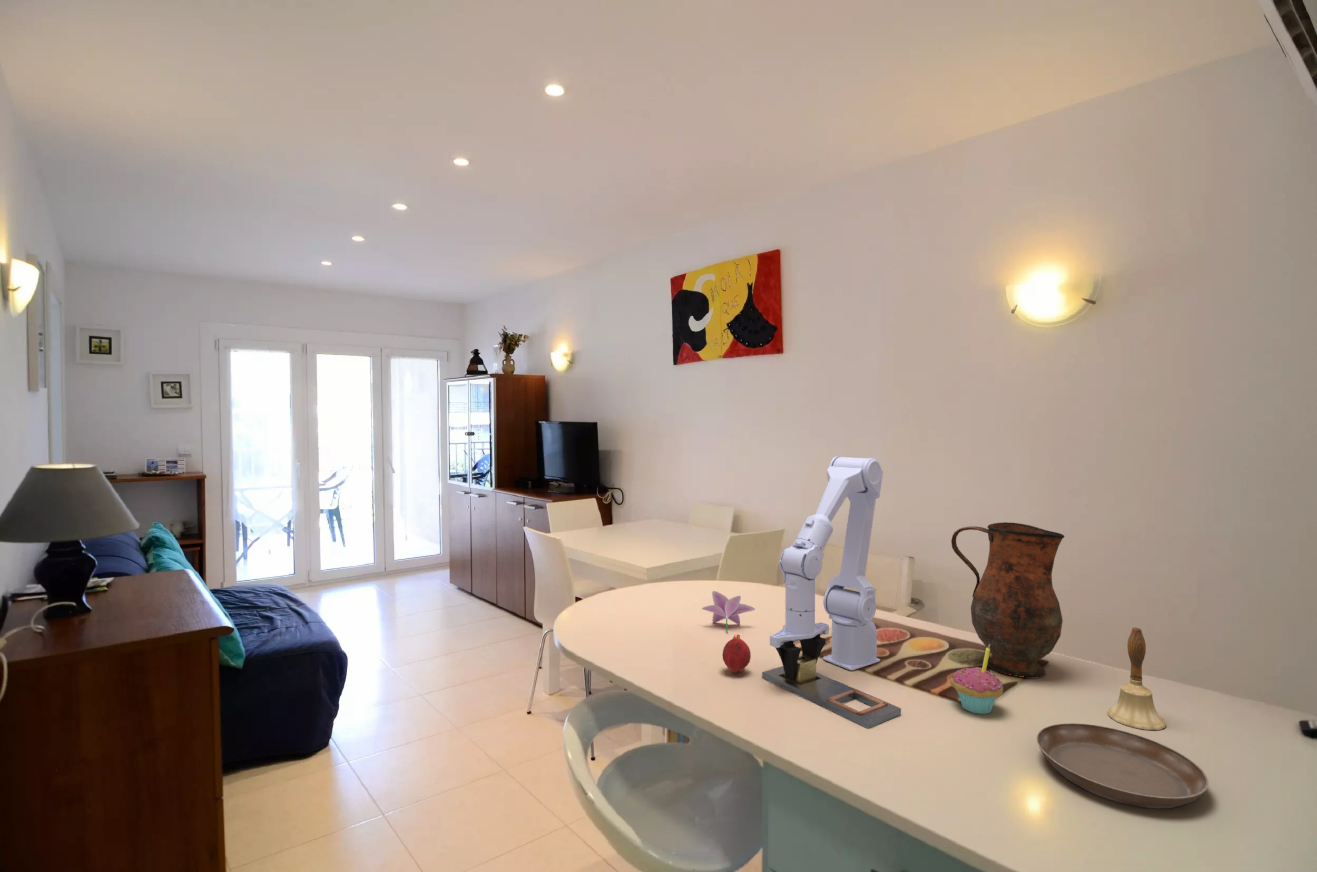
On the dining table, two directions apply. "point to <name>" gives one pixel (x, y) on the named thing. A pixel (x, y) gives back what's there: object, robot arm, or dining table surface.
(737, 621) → the lily
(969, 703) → the cupcake
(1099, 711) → the dining table surface
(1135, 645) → the hand bell
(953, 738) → the dining table surface
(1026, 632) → the pitcher
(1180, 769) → the plant saucer
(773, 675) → the rail
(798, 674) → the brass cube with hole
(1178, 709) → the dining table surface
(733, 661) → the pomegranate
